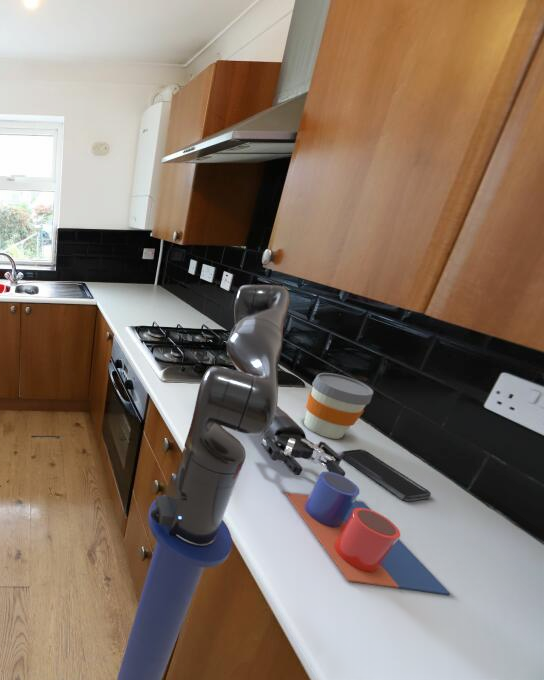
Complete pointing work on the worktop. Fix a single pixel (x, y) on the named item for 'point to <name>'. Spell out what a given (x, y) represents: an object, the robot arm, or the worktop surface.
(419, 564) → the sorting mat
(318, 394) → the reusable coffee cup
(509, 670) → the worktop surface
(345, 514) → the blue beaker
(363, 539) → the red beaker
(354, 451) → the phone
